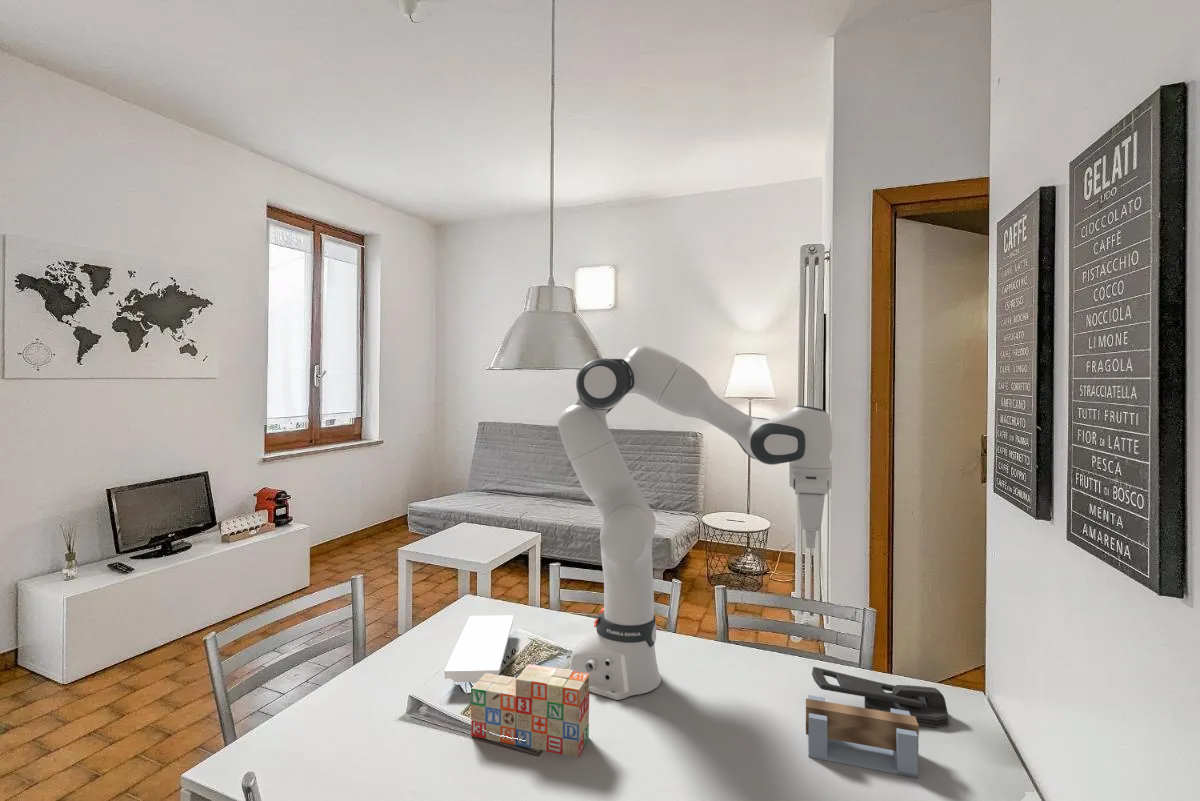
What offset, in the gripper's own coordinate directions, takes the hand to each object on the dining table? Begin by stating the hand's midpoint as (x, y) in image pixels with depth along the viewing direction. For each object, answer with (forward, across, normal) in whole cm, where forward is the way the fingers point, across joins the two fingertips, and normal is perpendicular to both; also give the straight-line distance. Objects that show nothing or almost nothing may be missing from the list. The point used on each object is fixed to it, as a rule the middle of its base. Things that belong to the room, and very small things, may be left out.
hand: (809, 542), depth 127 cm
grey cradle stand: (+31, +24, +8) cm, 40 cm away
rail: (+29, +24, +8) cm, 38 cm away
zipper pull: (+32, +8, +13) cm, 35 cm away
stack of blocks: (+32, +39, -50) cm, 70 cm away
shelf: (+32, +15, -73) cm, 81 cm away
